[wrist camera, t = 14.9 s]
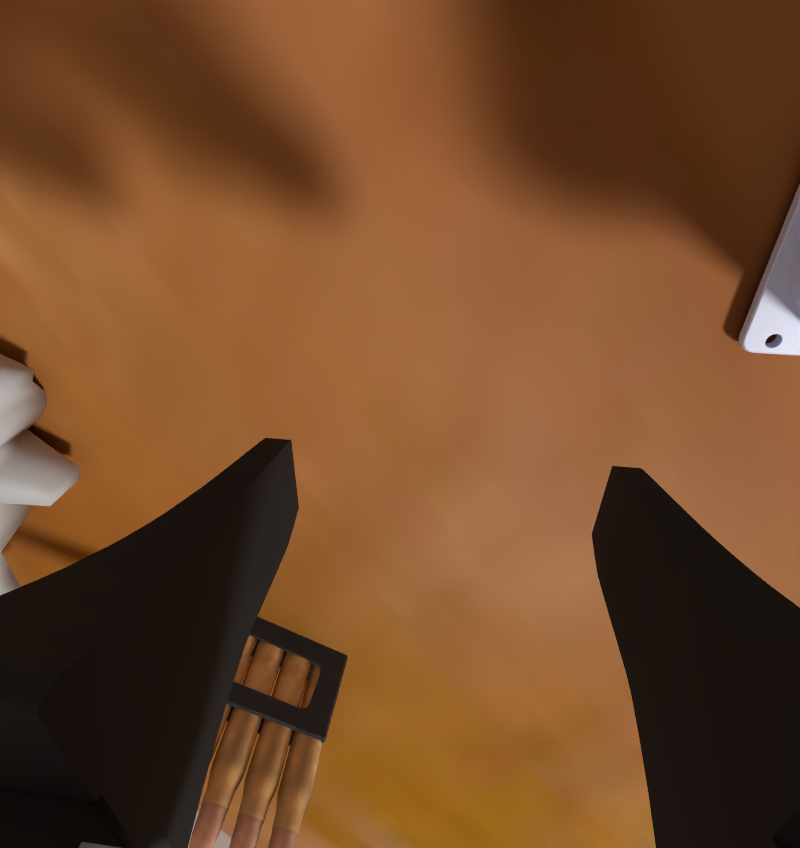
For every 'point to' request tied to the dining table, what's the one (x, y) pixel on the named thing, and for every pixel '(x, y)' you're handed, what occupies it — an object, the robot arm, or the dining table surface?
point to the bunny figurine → (25, 458)
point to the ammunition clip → (271, 736)
